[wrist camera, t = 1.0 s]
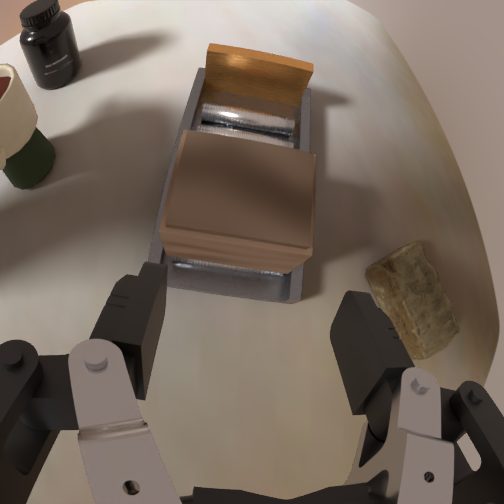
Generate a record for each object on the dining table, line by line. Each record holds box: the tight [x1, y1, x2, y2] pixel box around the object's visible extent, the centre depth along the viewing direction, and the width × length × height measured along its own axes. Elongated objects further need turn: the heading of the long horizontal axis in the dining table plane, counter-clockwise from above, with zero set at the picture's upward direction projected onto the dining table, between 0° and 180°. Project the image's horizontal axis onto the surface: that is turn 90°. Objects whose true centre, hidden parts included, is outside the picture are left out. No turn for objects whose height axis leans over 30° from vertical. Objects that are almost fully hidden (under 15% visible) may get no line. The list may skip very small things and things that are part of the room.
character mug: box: [0, 64, 55, 189], centre depth 22 cm, size 11×7×13 cm, turn 23°
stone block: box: [365, 242, 459, 360], centre depth 29 cm, size 6×12×5 cm, turn 26°
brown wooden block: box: [159, 130, 316, 274], centre depth 24 cm, size 8×10×7 cm
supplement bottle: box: [20, 0, 81, 89], centre depth 27 cm, size 7×7×12 cm
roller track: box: [148, 43, 313, 304], centre depth 29 cm, size 24×13×7 cm, turn 173°
